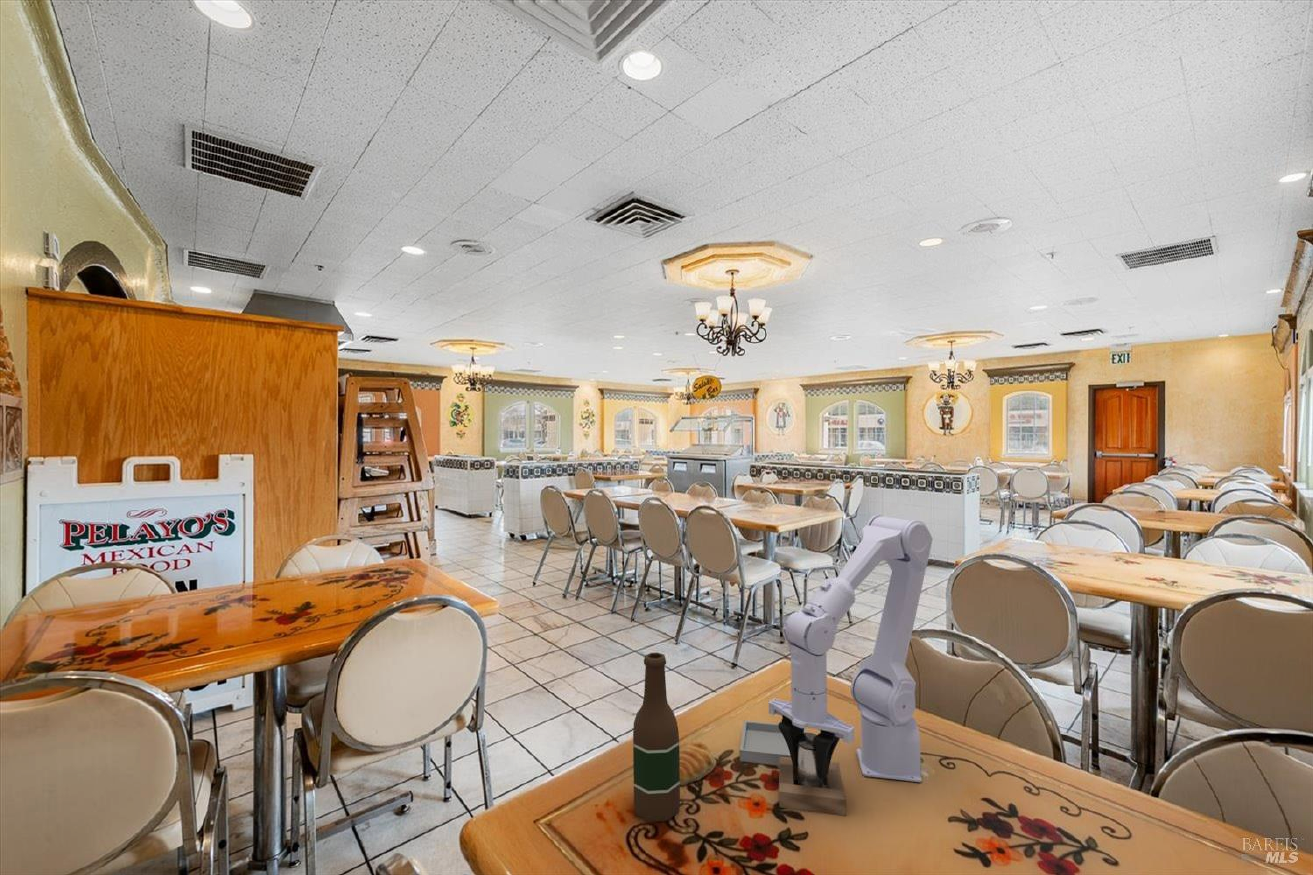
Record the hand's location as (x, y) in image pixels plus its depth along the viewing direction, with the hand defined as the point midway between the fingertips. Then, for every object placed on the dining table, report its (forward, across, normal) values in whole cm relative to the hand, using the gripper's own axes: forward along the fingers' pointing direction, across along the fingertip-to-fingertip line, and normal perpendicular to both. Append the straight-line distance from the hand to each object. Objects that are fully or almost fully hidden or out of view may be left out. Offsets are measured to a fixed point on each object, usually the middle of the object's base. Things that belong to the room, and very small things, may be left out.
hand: (810, 769), depth 91 cm
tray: (+4, -11, +7) cm, 14 cm away
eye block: (+4, 0, 0) cm, 4 cm away
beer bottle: (+4, -16, -20) cm, 26 cm away
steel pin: (+3, 0, 0) cm, 3 cm away
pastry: (+4, -18, -9) cm, 21 cm away
